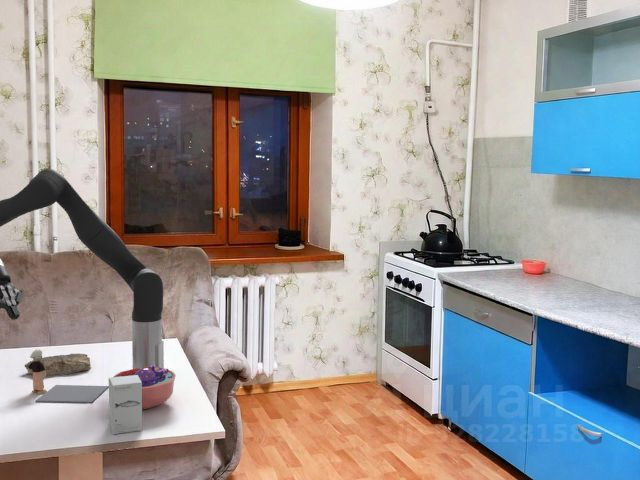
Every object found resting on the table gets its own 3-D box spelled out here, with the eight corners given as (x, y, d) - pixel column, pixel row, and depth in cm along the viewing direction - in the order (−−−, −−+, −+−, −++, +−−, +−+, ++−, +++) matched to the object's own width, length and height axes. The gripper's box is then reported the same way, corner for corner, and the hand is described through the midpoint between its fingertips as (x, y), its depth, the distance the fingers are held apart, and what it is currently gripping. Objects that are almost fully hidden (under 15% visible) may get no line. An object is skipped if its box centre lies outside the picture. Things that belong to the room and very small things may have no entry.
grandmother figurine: (53, 391, 197) (52, 349, 196) (44, 395, 193) (42, 352, 192) (32, 388, 199) (31, 346, 198) (22, 392, 196) (21, 349, 195)
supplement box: (112, 435, 165) (111, 385, 164) (108, 425, 172) (107, 376, 170) (142, 431, 168) (142, 382, 167) (138, 421, 175) (137, 373, 173)
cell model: (177, 392, 198) (177, 354, 197) (174, 416, 178) (174, 375, 177) (117, 394, 195) (117, 356, 194) (108, 419, 175) (107, 377, 174)
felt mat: (108, 387, 201) (108, 386, 201) (92, 403, 187) (91, 401, 187) (56, 386, 202) (56, 384, 202) (35, 401, 188) (35, 400, 188)
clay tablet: (27, 381, 207) (94, 371, 217) (26, 365, 207) (94, 356, 217) (22, 370, 220) (86, 361, 229) (21, 355, 219) (85, 347, 229)
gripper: (4, 277, 212) (27, 323, 207) (-34, 279, 200) (-11, 327, 195) (17, 263, 209) (41, 309, 204) (-21, 264, 198) (3, 312, 193)
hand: (15, 318), depth 200 cm, fingers closed
